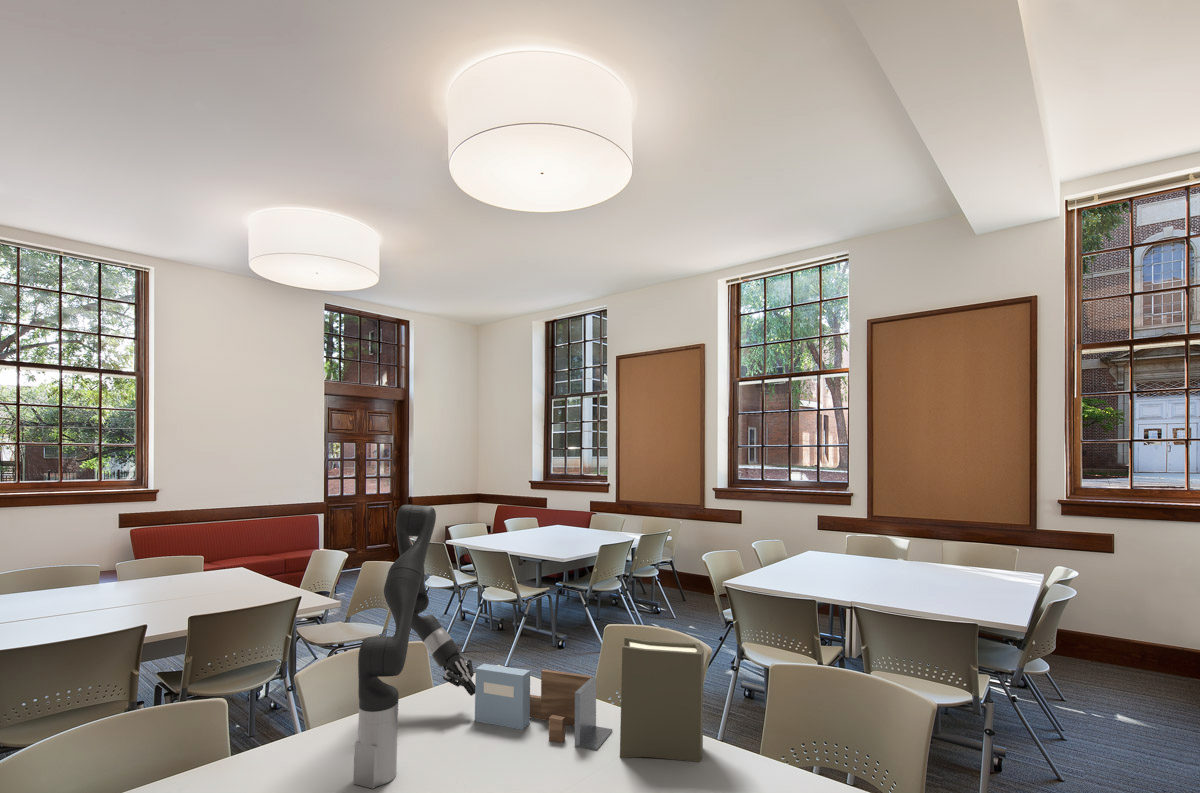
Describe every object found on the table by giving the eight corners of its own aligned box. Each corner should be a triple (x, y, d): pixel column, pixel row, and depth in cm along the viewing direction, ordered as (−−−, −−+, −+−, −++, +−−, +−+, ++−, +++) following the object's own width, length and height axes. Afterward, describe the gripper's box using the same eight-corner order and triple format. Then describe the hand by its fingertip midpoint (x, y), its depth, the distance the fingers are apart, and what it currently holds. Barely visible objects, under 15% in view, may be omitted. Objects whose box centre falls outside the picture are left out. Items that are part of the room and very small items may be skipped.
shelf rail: (575, 745, 165) (575, 691, 166) (483, 728, 175) (484, 677, 177) (592, 726, 176) (592, 676, 178) (505, 710, 187) (505, 663, 188)
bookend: (596, 750, 162) (596, 696, 163) (574, 746, 164) (574, 692, 166) (612, 731, 173) (612, 680, 174) (591, 727, 176) (591, 677, 177)
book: (701, 747, 165) (702, 641, 168) (703, 764, 156) (704, 652, 158) (622, 740, 168) (624, 636, 170) (619, 757, 158) (622, 647, 161)
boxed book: (522, 729, 174) (522, 675, 176) (474, 721, 180) (475, 668, 181) (529, 723, 179) (530, 670, 180) (482, 714, 184) (483, 663, 186)
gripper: (435, 645, 182) (470, 693, 177) (461, 633, 194) (493, 677, 189) (420, 661, 183) (454, 709, 178) (446, 648, 196) (478, 693, 190)
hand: (474, 693), depth 183 cm, fingers closed
